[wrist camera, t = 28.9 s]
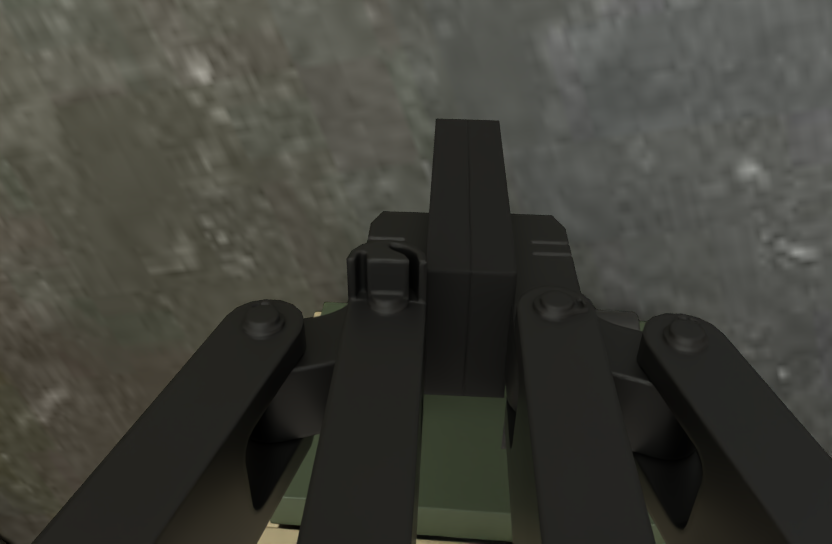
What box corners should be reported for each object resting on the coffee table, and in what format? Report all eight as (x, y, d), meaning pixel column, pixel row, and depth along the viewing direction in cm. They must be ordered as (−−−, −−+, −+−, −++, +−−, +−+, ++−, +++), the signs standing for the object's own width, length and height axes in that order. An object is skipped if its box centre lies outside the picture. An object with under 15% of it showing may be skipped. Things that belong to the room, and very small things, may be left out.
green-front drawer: (317, 200, 25) (248, 378, 17) (694, 220, 24) (788, 415, 17) (338, 530, 35) (300, 731, 27) (604, 550, 34) (638, 762, 27)
